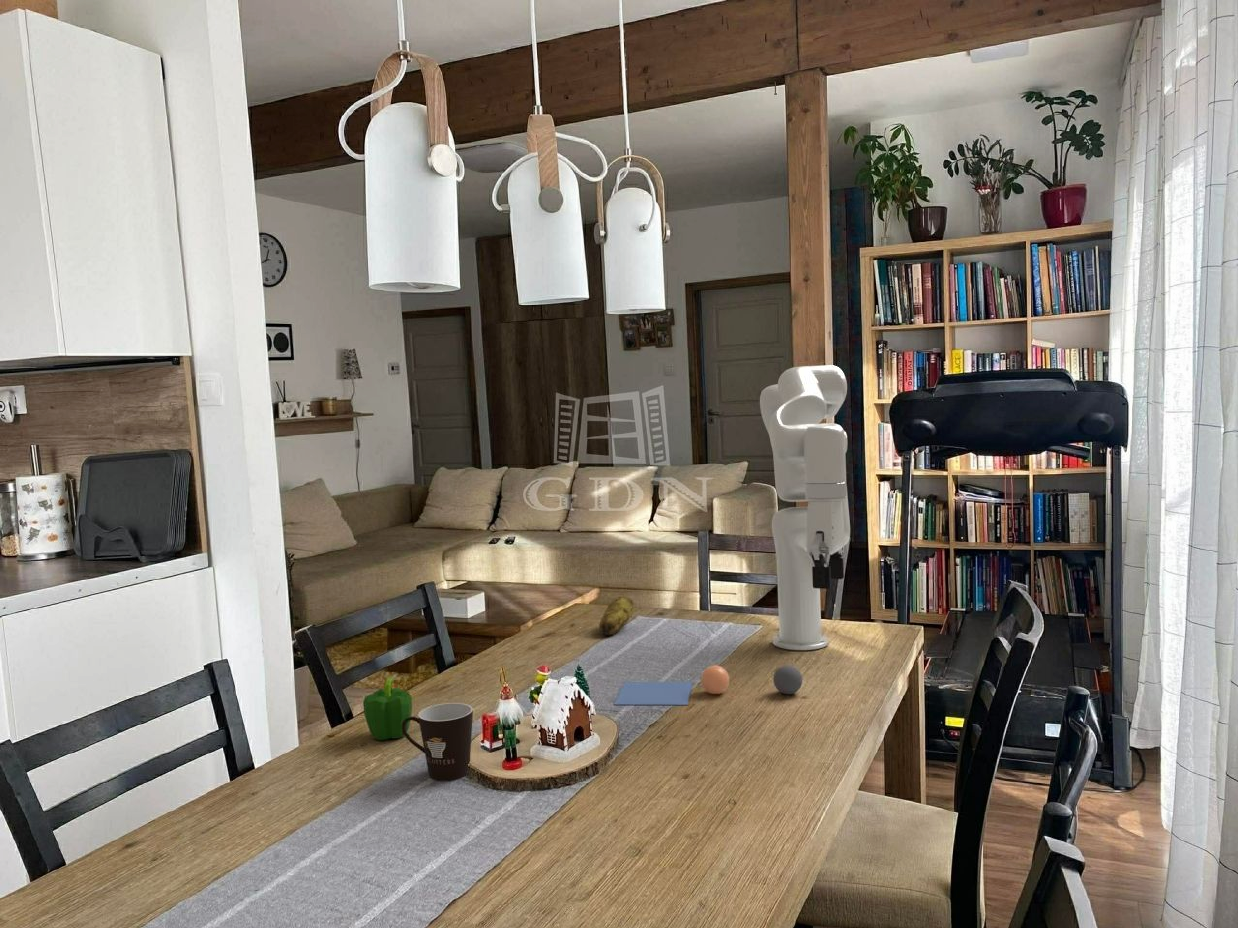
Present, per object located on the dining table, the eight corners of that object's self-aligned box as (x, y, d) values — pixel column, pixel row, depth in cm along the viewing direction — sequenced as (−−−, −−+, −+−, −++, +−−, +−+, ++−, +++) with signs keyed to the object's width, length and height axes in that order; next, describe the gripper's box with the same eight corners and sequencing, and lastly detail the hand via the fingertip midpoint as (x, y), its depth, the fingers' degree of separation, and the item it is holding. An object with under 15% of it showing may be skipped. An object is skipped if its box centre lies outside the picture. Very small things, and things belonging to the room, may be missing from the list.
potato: (586, 634, 234) (584, 602, 233) (621, 623, 243) (620, 593, 242) (610, 639, 228) (609, 606, 227) (645, 628, 237) (644, 596, 237)
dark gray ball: (773, 689, 184) (772, 661, 184) (802, 689, 183) (801, 661, 183) (774, 698, 179) (773, 669, 178) (803, 698, 178) (802, 669, 177)
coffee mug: (487, 770, 150) (484, 709, 149) (443, 788, 144) (439, 725, 143) (443, 753, 158) (440, 696, 157) (400, 770, 152) (396, 710, 151)
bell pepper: (398, 746, 162) (394, 689, 162) (357, 742, 165) (353, 687, 164) (423, 729, 170) (419, 675, 170) (383, 726, 173) (380, 673, 172)
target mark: (624, 682, 193) (624, 681, 193) (692, 682, 191) (692, 681, 191) (614, 704, 179) (614, 703, 179) (687, 705, 177) (687, 704, 177)
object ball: (702, 689, 186) (701, 661, 186) (730, 689, 185) (729, 661, 185) (700, 697, 181) (699, 670, 180) (729, 698, 180) (728, 669, 180)
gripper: (818, 487, 183) (821, 574, 184) (792, 496, 168) (795, 591, 169) (856, 487, 180) (859, 575, 181) (834, 496, 164) (837, 593, 165)
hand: (828, 583), depth 175 cm, fingers open, 9 cm apart
